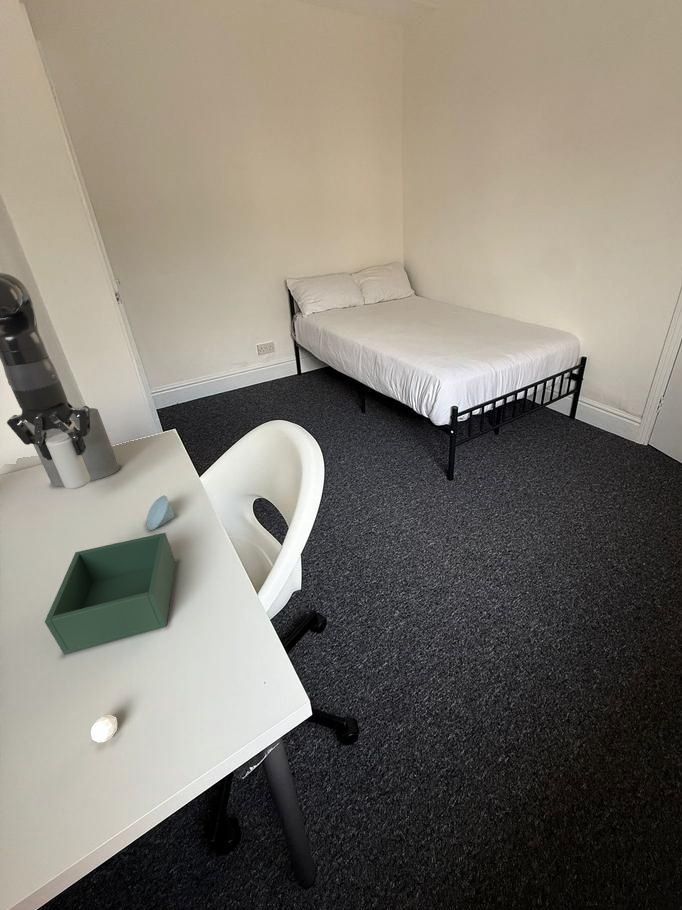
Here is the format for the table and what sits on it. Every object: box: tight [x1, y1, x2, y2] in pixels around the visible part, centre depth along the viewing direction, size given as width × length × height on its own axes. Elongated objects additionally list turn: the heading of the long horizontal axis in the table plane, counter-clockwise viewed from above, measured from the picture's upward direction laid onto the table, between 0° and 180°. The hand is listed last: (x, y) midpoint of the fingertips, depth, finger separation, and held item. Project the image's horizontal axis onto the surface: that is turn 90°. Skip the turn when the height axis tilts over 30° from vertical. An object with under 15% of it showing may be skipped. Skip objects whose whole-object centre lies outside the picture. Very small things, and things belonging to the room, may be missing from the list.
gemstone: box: [146, 495, 176, 531], centre depth 91 cm, size 8×8×5 cm
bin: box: [44, 532, 177, 656], centre depth 71 cm, size 15×15×8 cm
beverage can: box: [45, 432, 91, 490], centre depth 89 cm, size 5×5×12 cm
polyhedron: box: [90, 714, 118, 744], centre depth 54 cm, size 3×3×3 cm
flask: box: [25, 407, 120, 487], centre depth 103 cm, size 15×6×20 cm, turn 114°
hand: (66, 455), depth 88 cm, fingers closed on beverage can, 5 cm apart
